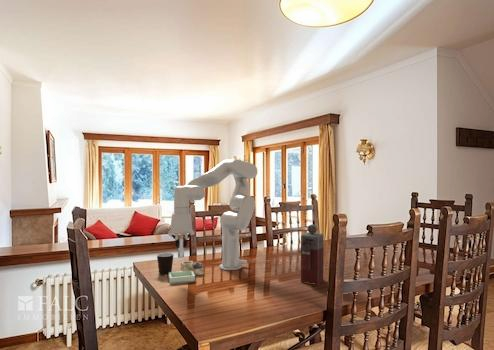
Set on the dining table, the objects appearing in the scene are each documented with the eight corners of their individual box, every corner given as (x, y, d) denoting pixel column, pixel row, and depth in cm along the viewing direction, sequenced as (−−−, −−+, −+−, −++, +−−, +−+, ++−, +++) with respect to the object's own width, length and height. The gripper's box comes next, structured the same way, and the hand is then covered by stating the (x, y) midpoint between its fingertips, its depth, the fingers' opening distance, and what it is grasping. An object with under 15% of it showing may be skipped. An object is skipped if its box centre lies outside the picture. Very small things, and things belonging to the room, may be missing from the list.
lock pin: (184, 256, 169) (184, 234, 169) (184, 257, 165) (185, 235, 166) (177, 256, 168) (177, 234, 168) (177, 258, 164) (178, 235, 165)
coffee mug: (169, 276, 173) (169, 257, 173) (153, 275, 174) (154, 256, 174) (178, 270, 184) (178, 251, 184) (163, 269, 186) (163, 251, 186)
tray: (192, 276, 173) (192, 270, 173) (194, 281, 164) (195, 275, 164) (168, 278, 170) (168, 272, 170) (169, 284, 160) (169, 277, 160)
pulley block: (201, 270, 183) (201, 259, 183) (203, 274, 176) (203, 263, 176) (180, 272, 180) (180, 261, 180) (182, 276, 173) (182, 264, 173)
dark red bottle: (298, 283, 162) (299, 225, 162) (306, 277, 172) (306, 222, 172) (317, 286, 158) (317, 227, 158) (323, 280, 167) (323, 224, 167)
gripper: (196, 209, 173) (196, 245, 173) (164, 210, 168) (163, 246, 168) (199, 211, 166) (198, 248, 165) (165, 211, 161) (164, 250, 161)
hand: (181, 247), depth 167 cm, fingers closed on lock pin, 3 cm apart
